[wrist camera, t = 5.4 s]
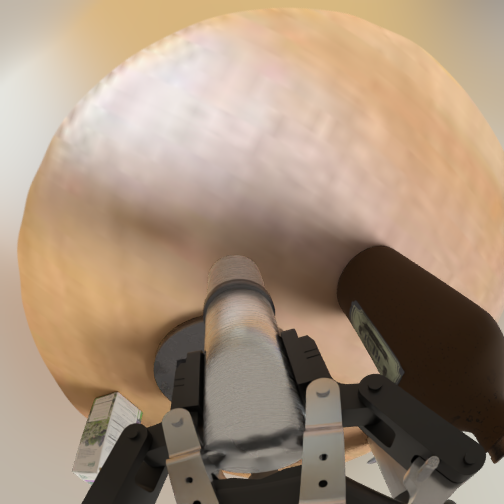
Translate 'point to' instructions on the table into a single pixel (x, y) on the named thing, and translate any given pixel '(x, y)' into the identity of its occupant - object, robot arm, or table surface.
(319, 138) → the table surface
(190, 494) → the robot arm
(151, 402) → the table surface
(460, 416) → the olive oil
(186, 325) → the collar stand
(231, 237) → the table surface
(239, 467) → the silver metal bottle
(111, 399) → the syrup box
